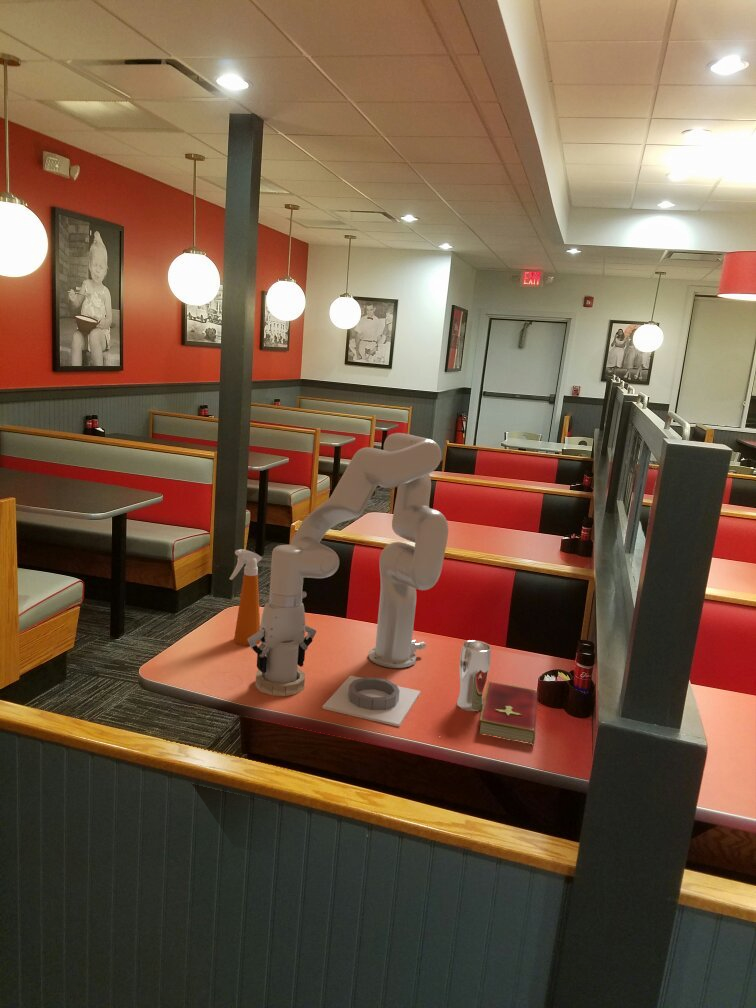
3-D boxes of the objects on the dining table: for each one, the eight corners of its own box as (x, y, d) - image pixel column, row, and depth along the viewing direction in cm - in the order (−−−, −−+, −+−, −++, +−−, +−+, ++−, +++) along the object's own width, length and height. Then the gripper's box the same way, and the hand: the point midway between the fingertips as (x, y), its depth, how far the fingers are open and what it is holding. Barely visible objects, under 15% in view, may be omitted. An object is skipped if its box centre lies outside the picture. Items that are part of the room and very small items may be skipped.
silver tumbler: (465, 696, 175) (472, 637, 172) (490, 706, 171) (497, 646, 168) (449, 705, 170) (455, 644, 167) (474, 715, 165) (481, 654, 162)
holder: (350, 677, 179) (351, 666, 179) (420, 693, 174) (421, 681, 174) (322, 708, 163) (323, 695, 162) (399, 726, 157) (400, 713, 157)
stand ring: (290, 671, 180) (291, 661, 180) (312, 690, 171) (313, 680, 170) (248, 679, 174) (248, 669, 173) (268, 699, 165) (269, 689, 164)
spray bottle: (217, 643, 193) (222, 548, 188) (248, 633, 202) (252, 542, 196) (235, 651, 189) (240, 554, 184) (266, 641, 197) (271, 547, 192)
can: (290, 694, 168) (293, 645, 166) (259, 688, 169) (262, 640, 167) (300, 681, 175) (303, 634, 173) (270, 676, 177) (273, 629, 174)
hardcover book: (536, 705, 174) (538, 689, 174) (533, 748, 154) (536, 729, 154) (486, 695, 177) (488, 679, 176) (477, 736, 157) (479, 718, 156)
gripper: (310, 590, 176) (305, 656, 179) (244, 597, 166) (240, 667, 170) (325, 599, 170) (320, 668, 173) (257, 607, 160) (253, 680, 163)
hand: (280, 667), depth 171 cm, fingers open, 9 cm apart
